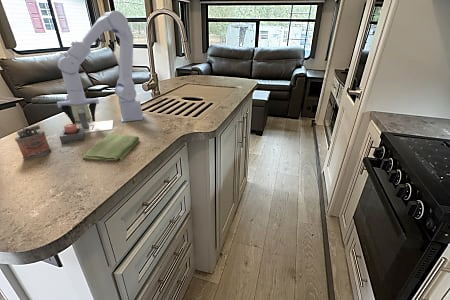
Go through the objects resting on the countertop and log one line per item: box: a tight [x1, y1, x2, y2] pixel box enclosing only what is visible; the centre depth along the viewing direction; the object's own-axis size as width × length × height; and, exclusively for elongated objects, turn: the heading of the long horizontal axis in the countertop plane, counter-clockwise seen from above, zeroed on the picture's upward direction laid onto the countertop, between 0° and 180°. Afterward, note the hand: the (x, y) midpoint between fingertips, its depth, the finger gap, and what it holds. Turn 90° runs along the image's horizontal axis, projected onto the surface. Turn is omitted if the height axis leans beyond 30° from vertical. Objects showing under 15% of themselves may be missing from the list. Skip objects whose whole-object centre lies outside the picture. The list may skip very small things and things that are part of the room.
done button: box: [63, 123, 78, 134], centre depth 90 cm, size 4×4×2 cm
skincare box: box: [66, 92, 92, 122], centre depth 110 cm, size 6×4×12 cm
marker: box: [76, 107, 89, 129], centre depth 99 cm, size 3×3×9 cm
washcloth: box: [82, 133, 140, 161], centre depth 83 cm, size 13×18×3 cm
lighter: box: [14, 124, 52, 162], centre depth 78 cm, size 8×3×10 cm, turn 148°
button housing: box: [59, 127, 86, 145], centre depth 92 cm, size 7×7×3 cm
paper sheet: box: [75, 119, 114, 134], centre depth 103 cm, size 17×12×1 cm
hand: (84, 122), depth 100 cm, fingers open, 7 cm apart
